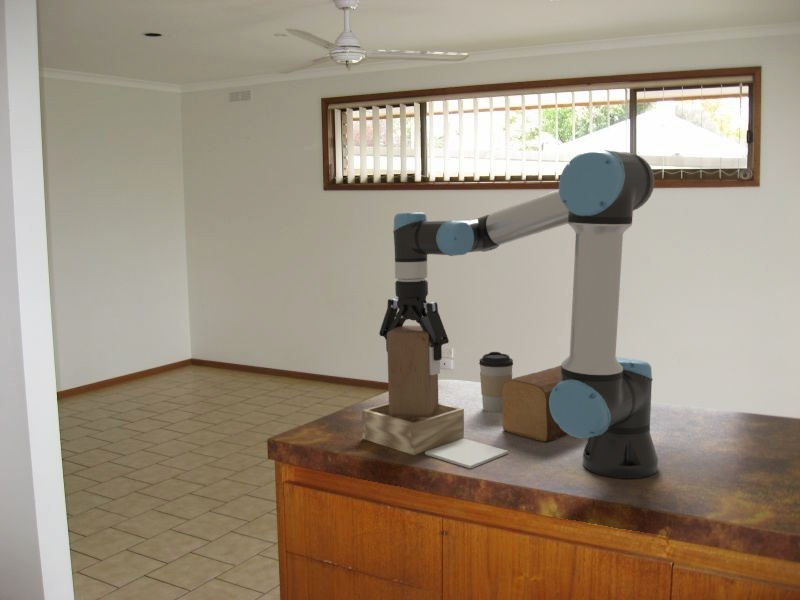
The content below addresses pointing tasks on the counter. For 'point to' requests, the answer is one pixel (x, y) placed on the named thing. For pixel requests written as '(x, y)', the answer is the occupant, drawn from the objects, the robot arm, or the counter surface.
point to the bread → (531, 405)
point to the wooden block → (410, 373)
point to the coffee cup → (494, 379)
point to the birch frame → (413, 428)
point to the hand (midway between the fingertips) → (413, 370)
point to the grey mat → (466, 453)
